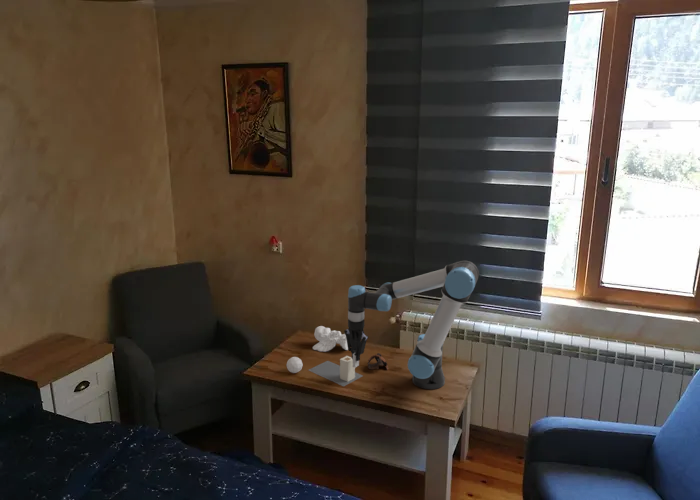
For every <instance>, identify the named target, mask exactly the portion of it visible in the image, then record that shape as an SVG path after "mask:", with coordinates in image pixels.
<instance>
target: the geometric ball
mask: <svg viewBox="0 0 700 500" xmlns="http://www.w3.org/2000/svg"><path fill="white" fill-rule="evenodd" d="M286 368H287V371H289V372H290V373H291V374H296V373H298V372H300V371H301V370H302V368H303V361H302V359H301V358H299V357H298V356H292V357H290V358H289V359H288V360H287V362H286Z"/></svg>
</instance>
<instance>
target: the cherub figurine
mask: <svg viewBox="0 0 700 500" xmlns="http://www.w3.org/2000/svg"><path fill="white" fill-rule="evenodd" d="M314 338H315V340H317V341H319V342H317V343H316V344H314V345H313V346H312V350H314V351H318V352H323V353H326V352H330V351H331V350H333V349H334V348H335V347H336V345H337V344H339V345H340V347H341V348H342V349H343V350H345V351H349V350H348V345H347V339H346V335H345V333H343V334H342V332H341V331H340V330H331V328H330V327H325V326H323V325H320V326H317V327H315V329H314Z"/></svg>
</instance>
